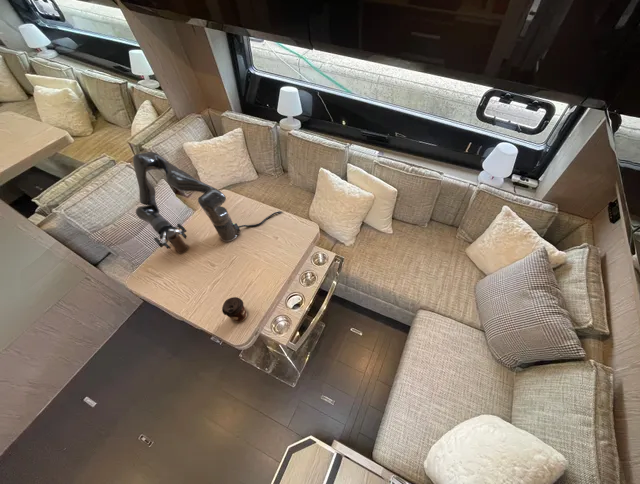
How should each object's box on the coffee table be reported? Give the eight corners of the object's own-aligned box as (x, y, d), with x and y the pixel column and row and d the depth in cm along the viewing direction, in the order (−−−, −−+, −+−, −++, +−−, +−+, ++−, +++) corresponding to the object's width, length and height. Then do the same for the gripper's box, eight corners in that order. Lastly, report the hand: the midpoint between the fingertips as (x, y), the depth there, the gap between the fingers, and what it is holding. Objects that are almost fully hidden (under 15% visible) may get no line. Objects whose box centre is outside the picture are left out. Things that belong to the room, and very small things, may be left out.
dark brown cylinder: (238, 328, 124) (230, 318, 114) (226, 318, 127) (216, 307, 117) (253, 312, 129) (245, 301, 119) (240, 303, 132) (232, 291, 122)
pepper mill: (186, 243, 152) (174, 228, 142) (188, 250, 150) (177, 234, 139) (176, 247, 150) (163, 232, 140) (178, 254, 148) (165, 239, 137)
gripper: (145, 230, 144) (160, 247, 137) (171, 214, 151) (187, 230, 145) (152, 238, 149) (167, 255, 143) (177, 223, 157) (193, 238, 150)
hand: (177, 242), depth 144 cm, fingers open, 8 cm apart
